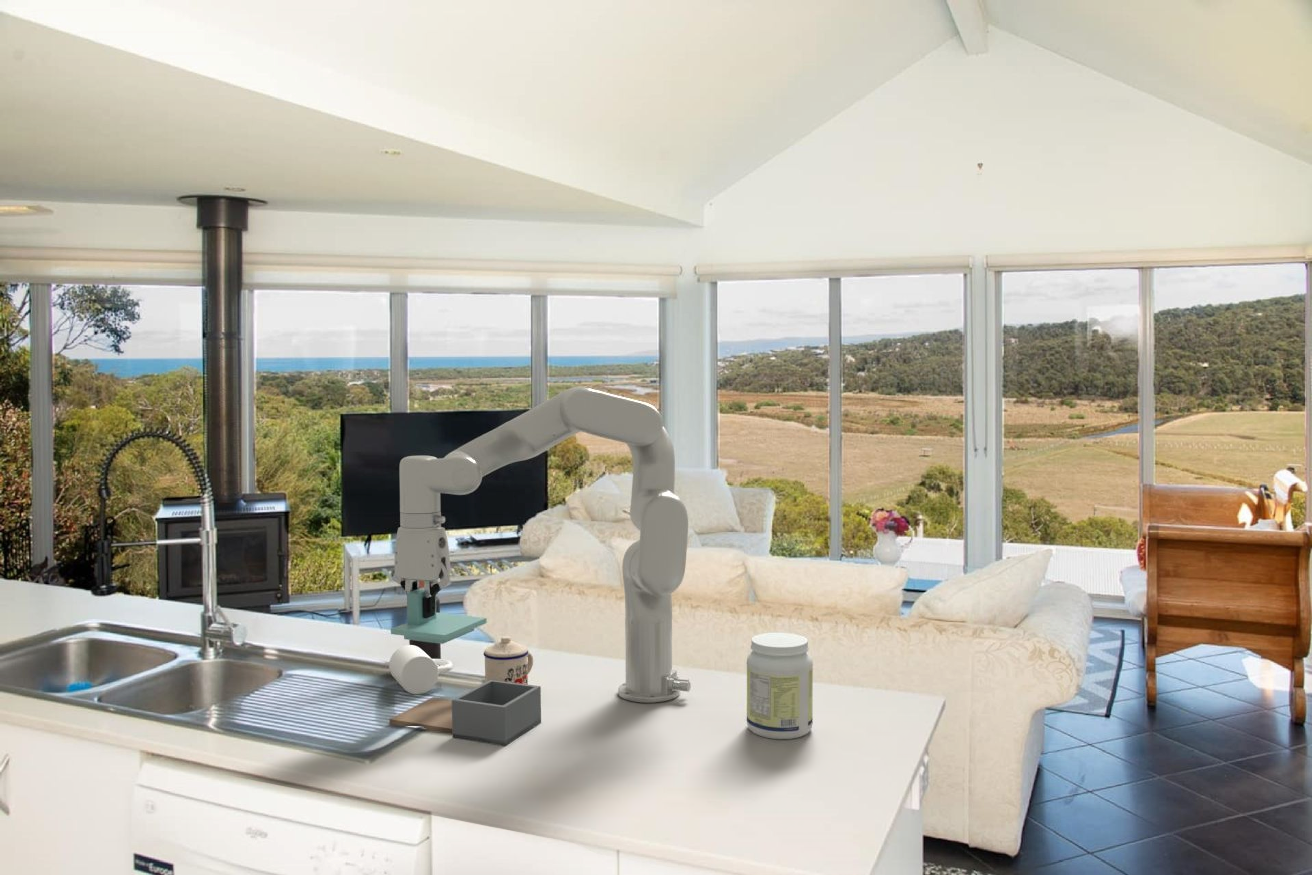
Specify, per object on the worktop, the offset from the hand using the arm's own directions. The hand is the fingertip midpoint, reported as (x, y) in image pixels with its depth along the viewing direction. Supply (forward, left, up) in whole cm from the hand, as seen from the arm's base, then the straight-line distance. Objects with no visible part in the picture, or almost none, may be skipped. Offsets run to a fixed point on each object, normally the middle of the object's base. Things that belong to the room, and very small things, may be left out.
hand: (422, 615), depth 201 cm
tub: (-18, +2, -19) cm, 26 cm away
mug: (+11, -15, -20) cm, 27 cm away
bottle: (+19, -27, -20) cm, 38 cm away
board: (-4, 0, -19) cm, 20 cm away
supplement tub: (-66, -18, -20) cm, 71 cm away
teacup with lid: (-8, -19, -20) cm, 29 cm away
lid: (-4, 0, -3) cm, 5 cm away
